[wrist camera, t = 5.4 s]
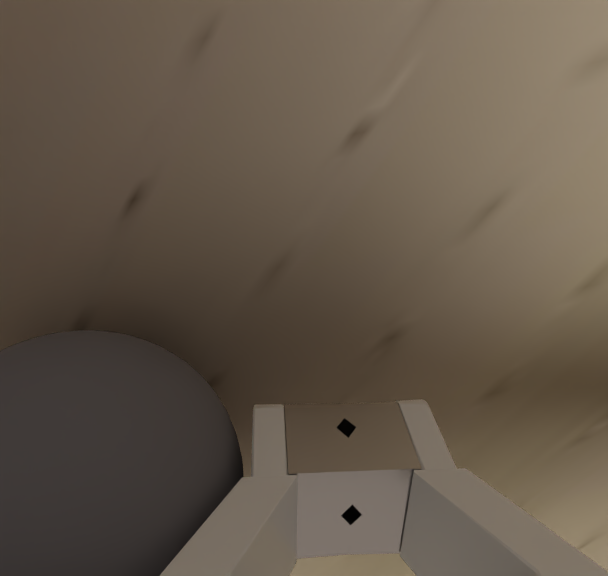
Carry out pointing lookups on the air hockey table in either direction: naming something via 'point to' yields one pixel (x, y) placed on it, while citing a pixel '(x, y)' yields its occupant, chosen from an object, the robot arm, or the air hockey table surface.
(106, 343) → the dark grey ball
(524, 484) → the air hockey table surface
